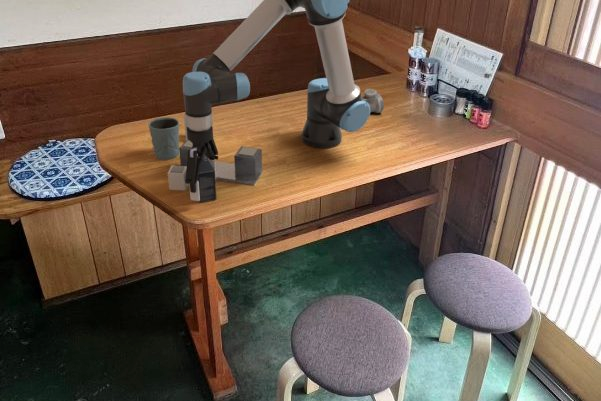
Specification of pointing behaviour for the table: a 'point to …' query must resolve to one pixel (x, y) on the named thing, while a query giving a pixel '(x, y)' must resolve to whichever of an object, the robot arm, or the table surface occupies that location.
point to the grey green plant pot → (165, 137)
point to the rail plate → (240, 172)
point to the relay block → (177, 178)
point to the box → (206, 181)
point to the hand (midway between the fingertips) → (203, 188)
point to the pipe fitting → (373, 100)
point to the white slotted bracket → (185, 127)
